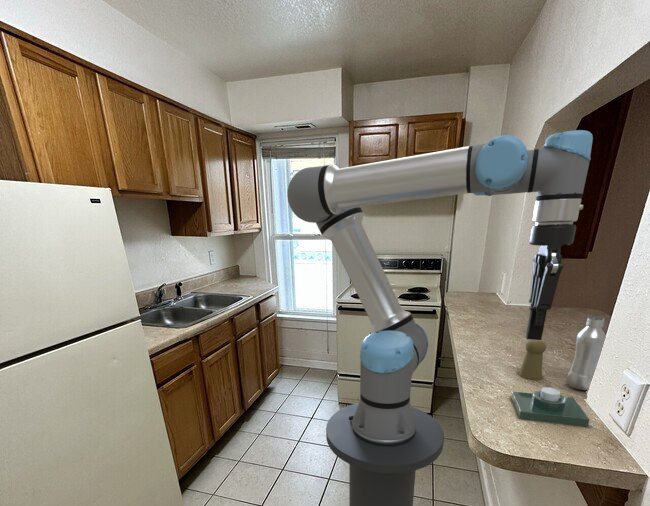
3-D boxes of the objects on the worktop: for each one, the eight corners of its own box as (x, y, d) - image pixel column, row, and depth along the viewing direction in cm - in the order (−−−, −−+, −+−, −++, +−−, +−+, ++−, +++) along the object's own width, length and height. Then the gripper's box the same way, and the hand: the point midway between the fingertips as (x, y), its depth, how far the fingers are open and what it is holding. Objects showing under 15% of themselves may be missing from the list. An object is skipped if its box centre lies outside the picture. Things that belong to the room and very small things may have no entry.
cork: (541, 381, 103) (548, 345, 100) (518, 377, 106) (524, 342, 103) (541, 373, 108) (549, 339, 104) (519, 370, 111) (525, 337, 107)
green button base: (519, 418, 84) (522, 403, 83) (511, 398, 94) (513, 384, 93) (587, 427, 80) (591, 411, 79) (571, 404, 90) (575, 390, 88)
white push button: (542, 401, 85) (543, 393, 84) (537, 394, 88) (539, 386, 87) (561, 403, 83) (562, 395, 83) (556, 395, 87) (557, 388, 86)
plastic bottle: (592, 385, 100) (610, 317, 93) (593, 395, 94) (612, 322, 87) (565, 380, 103) (581, 314, 96) (564, 389, 98) (581, 319, 91)
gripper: (588, 223, 62) (561, 349, 70) (565, 223, 74) (545, 331, 82) (540, 224, 64) (519, 346, 72) (525, 224, 76) (509, 329, 84)
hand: (533, 338), depth 77 cm, fingers closed
